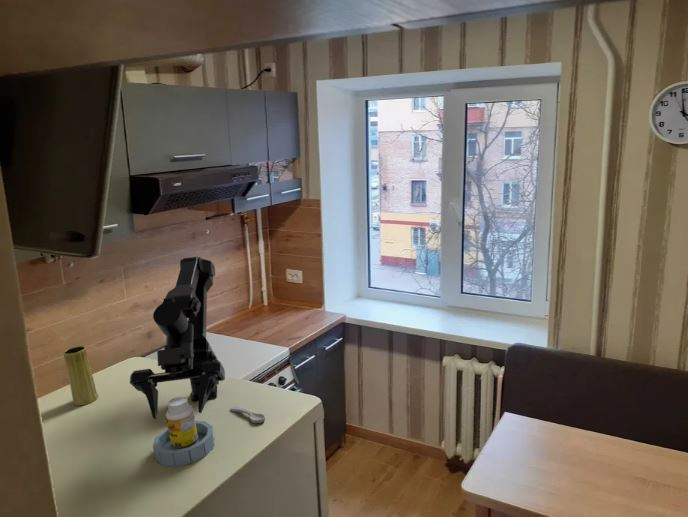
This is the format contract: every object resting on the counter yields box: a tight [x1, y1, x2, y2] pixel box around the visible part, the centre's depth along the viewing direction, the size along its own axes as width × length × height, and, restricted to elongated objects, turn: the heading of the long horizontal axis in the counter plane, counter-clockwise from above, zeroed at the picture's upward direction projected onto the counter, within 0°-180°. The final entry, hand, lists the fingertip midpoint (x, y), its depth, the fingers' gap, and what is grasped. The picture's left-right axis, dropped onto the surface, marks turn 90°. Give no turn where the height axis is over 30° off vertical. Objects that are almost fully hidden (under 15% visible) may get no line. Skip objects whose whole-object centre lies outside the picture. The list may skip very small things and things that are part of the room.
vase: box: [62, 345, 99, 406], centre depth 136 cm, size 6×6×14 cm
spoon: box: [229, 405, 266, 424], centre depth 122 cm, size 3×12×2 cm, turn 47°
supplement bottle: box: [165, 396, 198, 450], centre depth 110 cm, size 6×6×10 cm
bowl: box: [152, 420, 216, 467], centre depth 110 cm, size 12×12×3 cm
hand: (177, 415), depth 107 cm, fingers open, 9 cm apart
